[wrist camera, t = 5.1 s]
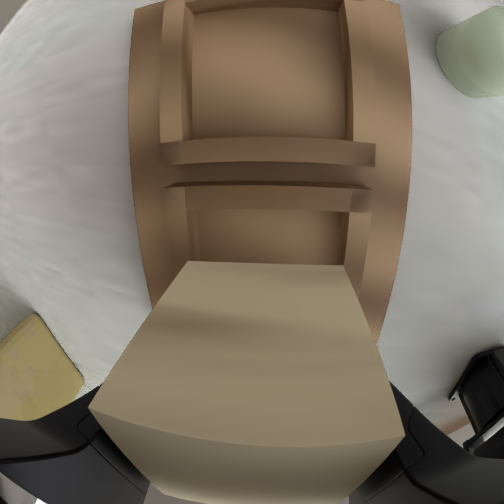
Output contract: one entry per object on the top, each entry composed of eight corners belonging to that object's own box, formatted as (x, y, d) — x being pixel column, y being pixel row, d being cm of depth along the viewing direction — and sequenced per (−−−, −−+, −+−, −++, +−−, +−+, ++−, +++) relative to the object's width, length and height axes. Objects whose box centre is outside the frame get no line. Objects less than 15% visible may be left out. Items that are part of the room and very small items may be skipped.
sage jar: (491, 106, 10) (550, 107, 5) (439, 86, 10) (500, 73, 5) (483, 45, 8) (534, 31, 3) (429, 21, 8) (477, -10, 3)
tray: (372, 331, 16) (383, 358, 14) (165, 323, 18) (150, 348, 15) (391, 12, 9) (409, -7, 6) (143, 16, 10) (121, 0, 8)
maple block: (323, 373, 10) (333, 508, 5) (204, 368, 11) (163, 493, 5) (343, 265, 8) (405, 435, 3) (188, 260, 9) (88, 408, 3)
